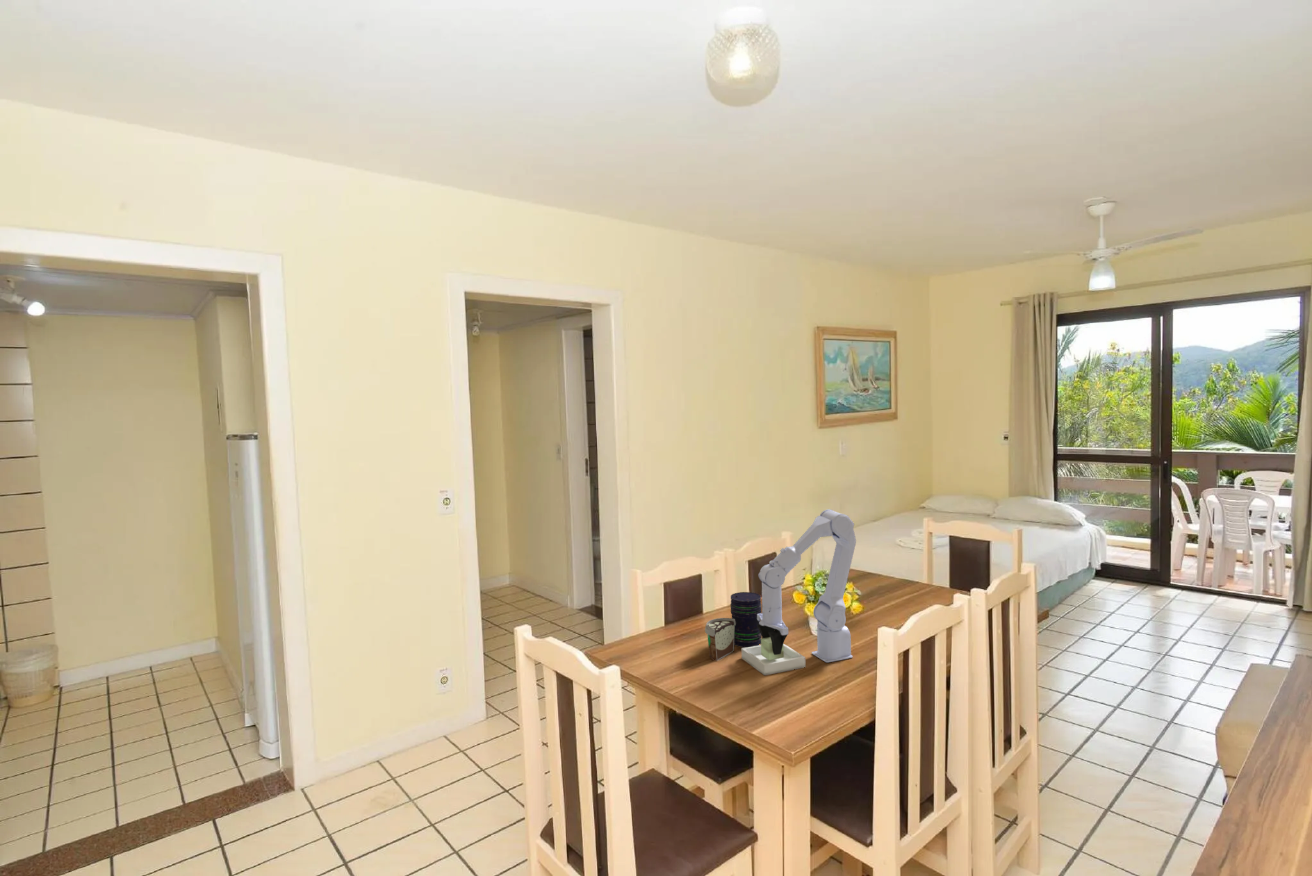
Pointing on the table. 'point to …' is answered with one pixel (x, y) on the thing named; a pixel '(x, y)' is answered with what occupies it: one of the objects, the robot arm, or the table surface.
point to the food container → (720, 637)
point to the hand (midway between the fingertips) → (772, 651)
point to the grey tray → (773, 666)
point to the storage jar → (746, 618)
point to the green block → (769, 649)
